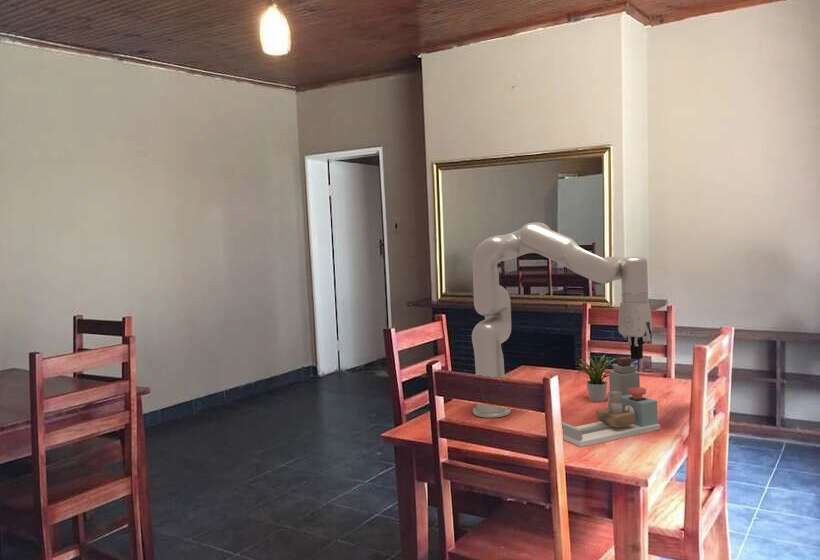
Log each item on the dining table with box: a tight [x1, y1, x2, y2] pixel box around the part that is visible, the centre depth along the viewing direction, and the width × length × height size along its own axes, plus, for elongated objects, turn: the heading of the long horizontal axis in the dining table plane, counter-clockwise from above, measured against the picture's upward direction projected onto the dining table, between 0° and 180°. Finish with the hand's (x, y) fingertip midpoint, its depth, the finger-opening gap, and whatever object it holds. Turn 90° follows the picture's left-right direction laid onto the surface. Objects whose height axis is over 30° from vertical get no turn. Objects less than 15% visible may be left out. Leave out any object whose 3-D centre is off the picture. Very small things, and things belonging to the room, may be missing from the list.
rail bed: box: [562, 421, 661, 448], centre depth 202 cm, size 12×29×4 cm, turn 114°
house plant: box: [578, 354, 616, 403], centre depth 237 cm, size 14×14×16 cm
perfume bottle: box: [608, 356, 641, 396], centre depth 220 cm, size 7×7×18 cm
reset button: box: [628, 386, 647, 400], centre depth 206 cm, size 5×5×3 cm
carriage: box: [595, 391, 635, 428], centre depth 203 cm, size 9×7×9 cm
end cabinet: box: [622, 394, 659, 427], centre depth 206 cm, size 10×6×7 cm, turn 24°
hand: (636, 358), depth 205 cm, fingers closed
